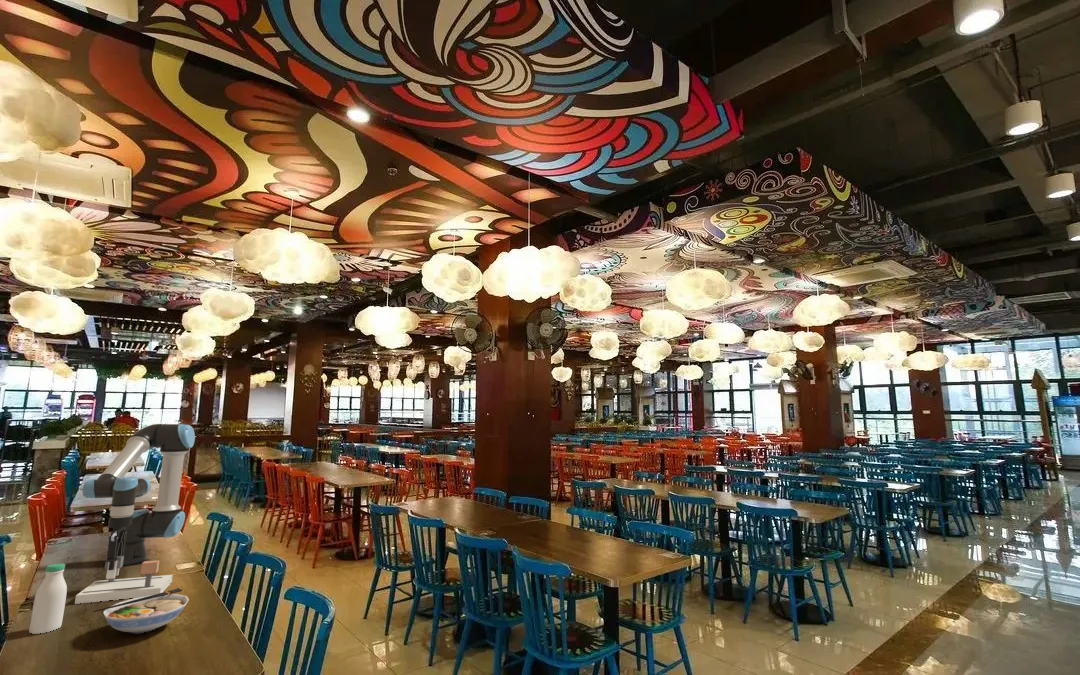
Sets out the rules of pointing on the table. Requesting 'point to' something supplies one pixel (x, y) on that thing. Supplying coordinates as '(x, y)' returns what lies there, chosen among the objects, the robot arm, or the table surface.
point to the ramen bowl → (145, 612)
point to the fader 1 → (119, 565)
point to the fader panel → (122, 589)
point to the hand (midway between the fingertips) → (112, 576)
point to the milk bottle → (49, 601)
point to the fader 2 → (149, 570)
